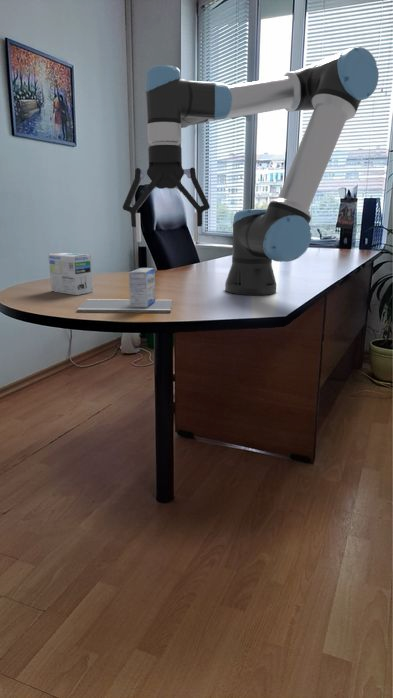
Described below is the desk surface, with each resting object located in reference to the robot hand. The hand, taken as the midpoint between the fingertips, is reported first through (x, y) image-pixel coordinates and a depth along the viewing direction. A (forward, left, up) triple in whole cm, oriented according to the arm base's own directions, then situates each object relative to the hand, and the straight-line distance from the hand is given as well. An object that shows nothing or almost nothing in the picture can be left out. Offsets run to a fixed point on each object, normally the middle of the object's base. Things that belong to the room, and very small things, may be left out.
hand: (167, 241), depth 114 cm
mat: (+10, 0, -16) cm, 19 cm away
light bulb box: (+28, -20, -16) cm, 38 cm away
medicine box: (+6, 0, -16) cm, 17 cm away
